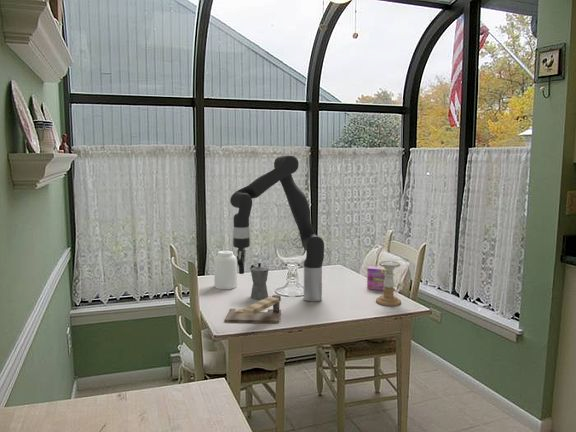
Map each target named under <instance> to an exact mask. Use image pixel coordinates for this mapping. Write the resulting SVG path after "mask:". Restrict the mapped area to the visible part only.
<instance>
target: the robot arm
mask: <svg viewBox="0 0 576 432" xmlns="http://www.w3.org/2000/svg"><path fill="white" fill-rule="evenodd" d="M273 167H274V169H272V170H270V171H268V172H267V173H264V174H262V175H260V176H259V177H257V178H255V179H254V180H253V181H252V182H251V183H249V184H248V185H246V186H245V187H241V188H239V189H238V190H237V191H235V192H234V193H233V194H231V196H230V205H231V206H232V207H233V208H235V209H238V212H237V213H235V214H234V215H233V229H232V247H234V248H235V249H237V251H236V259H237V266H238V274H239V275H244V274H245V264H246V259H247V257H246V255H247V250H246V248H249V247H250V246H251V244H250V243H251V242H250V241H251V235H250V231H251V230H250V216H251V211H252V206H253V199H257V198H258V197H260V196H262V195H263V194H264V193H265V192H267V191H268V190H269V189H270V188H272V186H275V185H276V184H277V183H278V182H280V185H281V186H282V190H283V192H284V194H285V197H286V199H287V202H288V205H289V208H290V211H291V215H292V217H293V219H294V221H295V223H296V226H297V228H298V232H299V237H300V242H301V245H302V247H303V249H304V250H305V251H306V256H305V257H306V258H305V260H304V261H303V300H304V301H306V302H313V303H315V302H322V299H323V297H322V296H323V292H322V291H323V280H322V279H323V263H324V257H325V243H324V240H323V238H322V237H321V236H318V235H317V234H316V232H315V228H314V227H313V224H312V221H311V218H312V217H311V208H310V204H309V202H308V199H307V197H306V194H305V193H304V192H303V191H302V189H301V188H300V187H299V186H298V185H297V183H296V182H295V180H294V178H293V175H292V174H294V173H296V172H297V170H298V169H299V160H298V159H297V157H296V156H295V155H292V154H287V155H282V156H279V157H276V158H275V159H274V162H273Z"/></svg>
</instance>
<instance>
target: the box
mask: <svg viewBox="0 0 576 432" xmlns="http://www.w3.org/2000/svg"><path fill="white" fill-rule="evenodd" d="M366 273H367V276H366V277H367V278H366V279H367V280H366V283H367V284H366V285H367V286H366V289H367V290H368V289H369V290H376V291H377V290H378V291H384V290H383V288H384V287H385V286H384V285H383V283H384V280H385V275H384V274H385V273H386V269H385V268H384V267H382V266H373V265H369V266H368V267H367V272H366Z"/></svg>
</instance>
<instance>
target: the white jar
mask: <svg viewBox="0 0 576 432" xmlns="http://www.w3.org/2000/svg"><path fill="white" fill-rule="evenodd" d="M213 266H214V267H213V272H214V273H213V275H214V280H213V281H214V285H213V286H214V288H215V289H217V290H231V289H236V288H237V287H238V262H237V256H235V255H234V251H231V250H225V249H224V250H220V251H218V252H217V254H216V256H215V257H214V259H213Z"/></svg>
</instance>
